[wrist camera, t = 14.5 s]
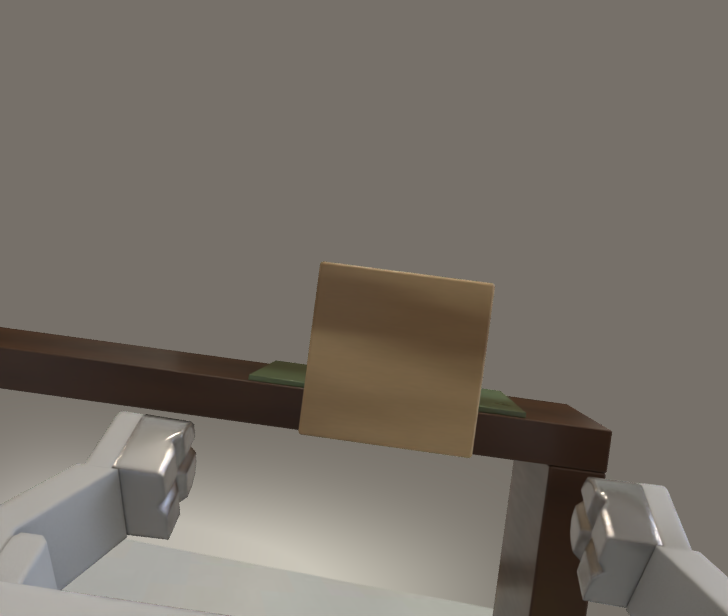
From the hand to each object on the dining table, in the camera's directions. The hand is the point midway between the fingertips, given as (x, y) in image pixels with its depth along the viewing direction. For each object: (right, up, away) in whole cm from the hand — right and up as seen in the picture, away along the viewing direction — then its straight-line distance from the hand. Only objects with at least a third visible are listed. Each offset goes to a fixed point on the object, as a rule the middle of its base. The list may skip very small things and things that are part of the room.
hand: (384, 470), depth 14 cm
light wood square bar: (+1, 0, +12) cm, 12 cm away
